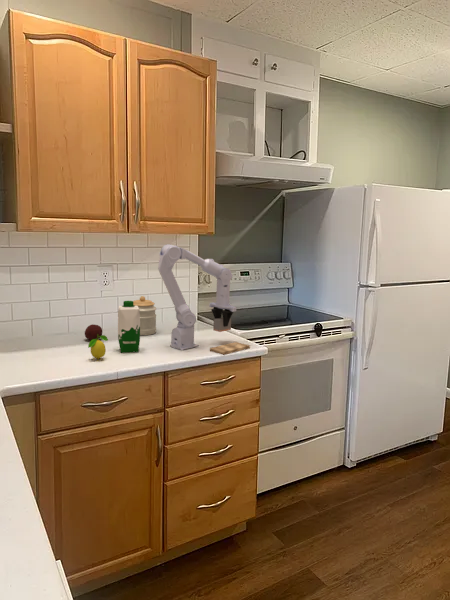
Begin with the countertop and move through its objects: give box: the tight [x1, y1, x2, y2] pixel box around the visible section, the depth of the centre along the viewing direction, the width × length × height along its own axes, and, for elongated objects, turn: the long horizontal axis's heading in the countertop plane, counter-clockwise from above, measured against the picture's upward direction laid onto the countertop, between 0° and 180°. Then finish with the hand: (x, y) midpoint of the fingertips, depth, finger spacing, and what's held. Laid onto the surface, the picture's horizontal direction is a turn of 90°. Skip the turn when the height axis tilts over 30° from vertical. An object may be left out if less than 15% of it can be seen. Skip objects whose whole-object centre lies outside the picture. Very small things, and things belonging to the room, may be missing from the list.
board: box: [209, 341, 251, 356], centre depth 198 cm, size 16×8×1 cm, turn 136°
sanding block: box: [212, 317, 232, 333], centre depth 206 cm, size 7×4×5 cm, turn 136°
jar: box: [132, 295, 157, 336], centre depth 222 cm, size 13×13×18 cm
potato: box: [84, 323, 103, 341], centre depth 207 cm, size 7×8×7 cm
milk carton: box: [117, 300, 141, 354], centre depth 191 cm, size 9×9×20 cm
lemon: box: [87, 334, 109, 360], centre depth 178 cm, size 7×6×10 cm
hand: (221, 325), depth 206 cm, fingers closed on sanding block, 4 cm apart
